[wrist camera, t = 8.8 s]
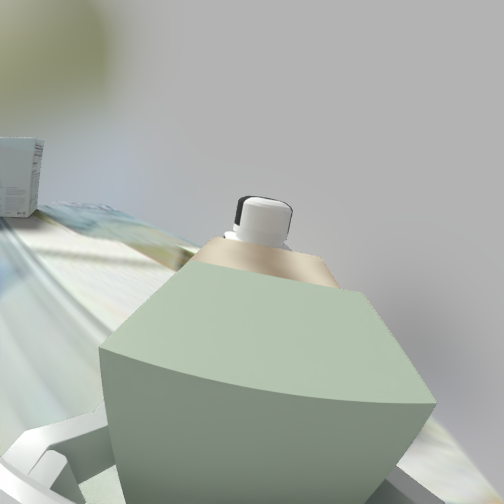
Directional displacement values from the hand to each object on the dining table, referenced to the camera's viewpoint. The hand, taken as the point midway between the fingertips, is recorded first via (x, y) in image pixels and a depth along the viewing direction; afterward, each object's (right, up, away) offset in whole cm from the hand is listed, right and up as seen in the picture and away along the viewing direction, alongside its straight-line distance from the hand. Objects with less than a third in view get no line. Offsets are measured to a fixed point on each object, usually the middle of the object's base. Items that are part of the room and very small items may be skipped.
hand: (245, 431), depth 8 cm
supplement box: (-57, +15, +47) cm, 75 cm away
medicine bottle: (0, -1, +28) cm, 28 cm away
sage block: (-1, -5, 0) cm, 6 cm away
